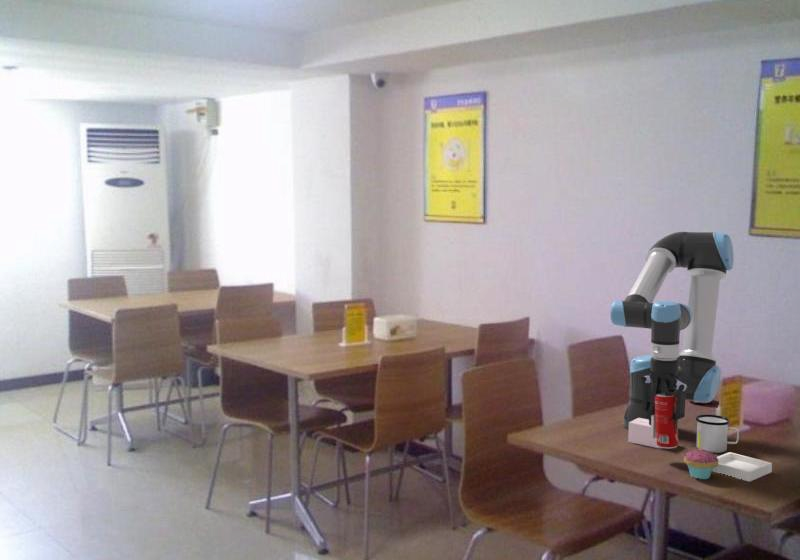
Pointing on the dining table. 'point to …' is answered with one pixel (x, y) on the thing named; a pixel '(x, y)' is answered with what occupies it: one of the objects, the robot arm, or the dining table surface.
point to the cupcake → (700, 461)
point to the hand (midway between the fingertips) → (662, 439)
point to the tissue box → (641, 433)
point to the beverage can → (665, 421)
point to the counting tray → (742, 466)
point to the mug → (714, 433)
